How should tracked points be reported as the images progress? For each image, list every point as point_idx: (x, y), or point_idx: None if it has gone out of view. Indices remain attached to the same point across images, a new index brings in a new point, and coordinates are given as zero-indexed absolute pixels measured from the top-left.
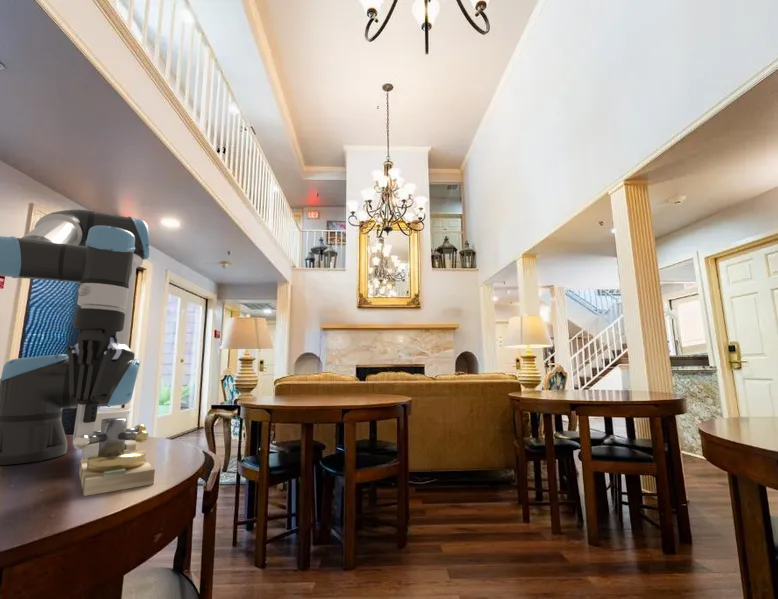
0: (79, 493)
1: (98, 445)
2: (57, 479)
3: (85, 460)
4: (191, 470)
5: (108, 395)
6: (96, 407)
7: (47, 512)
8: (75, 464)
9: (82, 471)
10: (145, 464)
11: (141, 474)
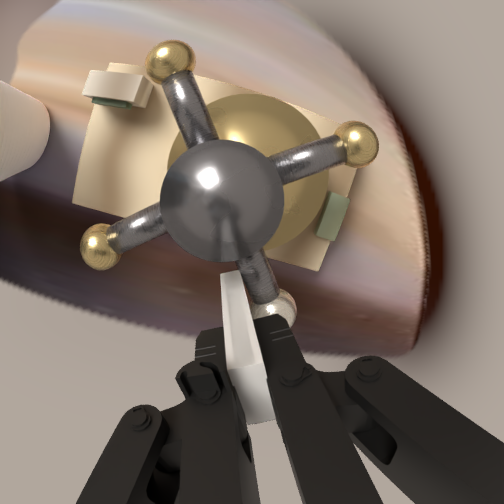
0: None
1: (22, 150)
2: None
3: (92, 197)
4: (311, 29)
5: (397, 372)
6: (301, 359)
7: (341, 318)
8: (13, 180)
9: None
10: None
11: None
